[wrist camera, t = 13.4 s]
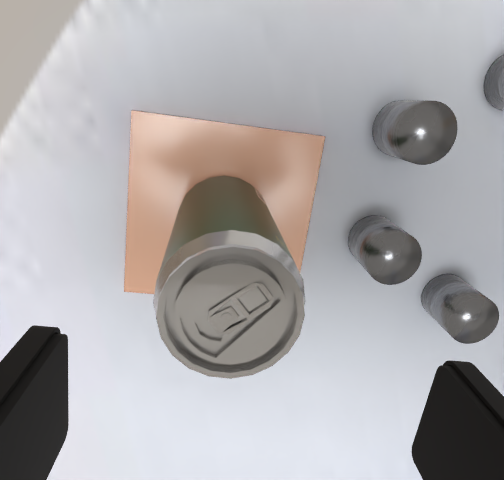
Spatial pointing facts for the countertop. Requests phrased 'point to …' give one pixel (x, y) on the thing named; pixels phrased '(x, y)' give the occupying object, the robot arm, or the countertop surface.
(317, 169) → the terracotta tile
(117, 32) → the countertop surface
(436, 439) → the robot arm
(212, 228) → the beer can
